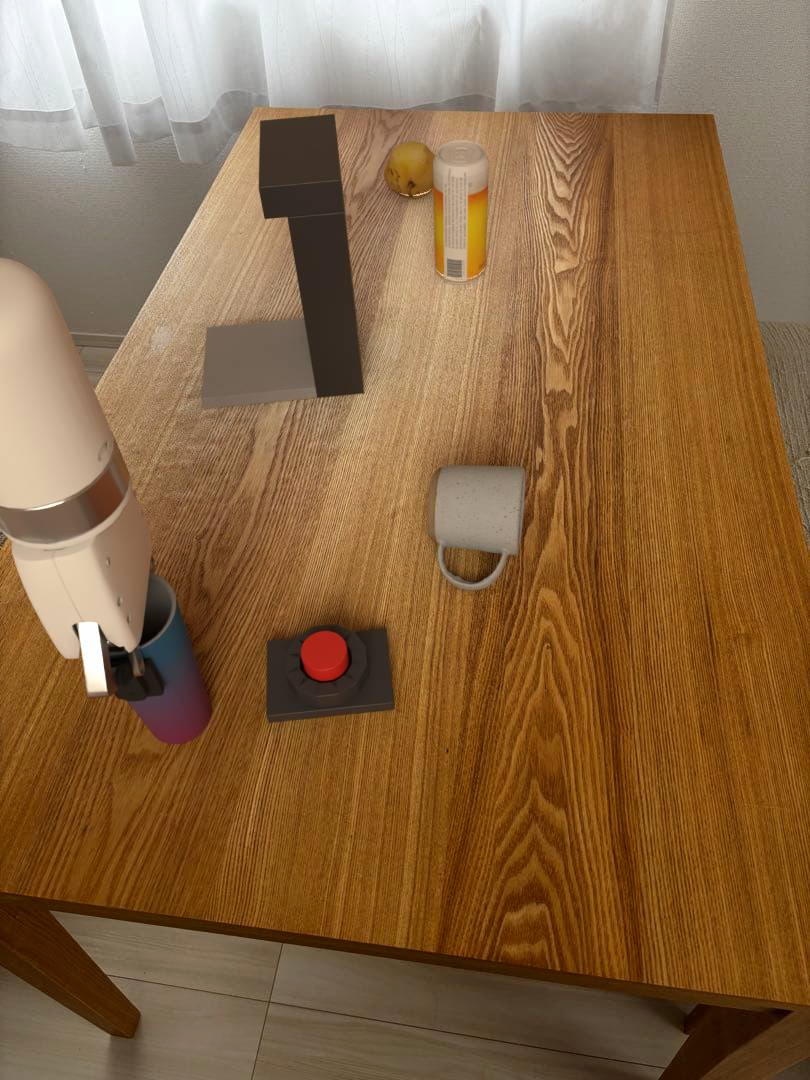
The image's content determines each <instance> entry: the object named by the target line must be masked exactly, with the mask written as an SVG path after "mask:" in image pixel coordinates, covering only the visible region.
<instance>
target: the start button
mask: <svg viewBox="0 0 810 1080" xmlns="http://www.w3.org/2000/svg"><path fill="white" fill-rule="evenodd" d="M301 658H302V661H303V665H304V669H305V671H306V673H307V674H308V675H309V676H310V677H312V678H313V679H315V680H318V681H331V680H334V679H336V678H338V677H339V676H341V675H342V674H343V673H344V672H345V670H346V669H347V666H348V663H349V657H348V651H347V646H346V643H345V641H344V639H343V638H342V637H341V636H340V635H338V634H337V633H334V632H331V631H320V632H317V633H314V634H312V635H311V636H309V637H308V638H307V639H306V640H305V641H304V643H303V645H302V648H301Z"/></svg>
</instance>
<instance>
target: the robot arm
mask: <svg viewBox="0 0 810 1080" xmlns="http://www.w3.org/2000/svg"><path fill="white" fill-rule="evenodd" d="M115 437H116V436H115V435H114V433H113V431H112V429H111V426H110V424H109V422H108V419H107V417H106V414H105V412H104V410H103V408H102V405H101V403H100V400H99V398H98V395H97V394H96V392H95V389H94V386H93V384H92V381H91V379H90V377H89V374H88V372H87V370H86V367H85V365H84V362H83V360H82V358H81V356H80V353H79V351H78V349H77V346H76V344H75V341H74V339H73V336H72V335H71V332H70V330H69V328H68V325H67V323H66V321H65V318H64V316H63V313H62V311H61V309H60V307H59V305H58V302H57V301H56V298H55V296H54V294H53V292H52V291H51V289H50V287H49V286H48V284H47V283H46V282H45V280H43V278H42V277H41V276H40V275H39V274H37V273H36V271H34V270H33V269H31V268H30V267H28V266H26V265H25V264H23V263H21V262H19V261H16V260H14V259H10V258H5V257H0V531H1V532H2V533H3V535H4V536H5V537H6V538H7V539H9V540H10V542H11V555H12V558H13V561H14V564H15V568H16V570H17V571H16V572H17V573H18V575H19V578H20V580H21V583H22V586H23V588H24V591H25V593H26V595H27V597H28V600H29V602H30V603H31V605H32V607H33V609H34V611H35V613H36V615H37V617H38V619H39V621H40V623H41V624H42V626H43V628H44V630H45V632H46V633H47V635H48V637H49V638H50V640H51V641H52V644H53V645H54V646H55V648H56V649H57V651H58V652H59V653H60V655H61V656H62V657H63V658H65V659H66V660H74V659H75V660H77V659H80V656H81V660H82V666H83V668H82V669H83V674H84V681H85V687H86V694H87V697H88V699H90V700H91V699H92V700H93V699H99V698H109V697H112V696H113V695H114V696H115V697H116V698H117V699H118V700H124V701H126V702H127V701H131V702H134V701H142V700H145V699H146V698H147V697H152V696H161V695H163V694H164V685H163V683H162V681H161V679H160V677H159V675H158V673H157V672H156V670H155V668H154V666H153V664H152V662H151V660H150V659H143V656H142V653H141V649H140V645H139V642H140V639H141V635H142V629H143V622H144V614H145V606H146V598H147V589H148V580H149V572H152V573H155V574H156V561H155V558H154V556H153V555H152V534H151V529H150V525H149V522H148V519H147V518H146V514H145V512H144V510H143V507H142V505H141V503H140V501H139V498H138V497H137V495H136V492H135V490H134V489H133V480H132V476H131V473H130V471H129V468H128V466H127V464H126V461H125V459H124V457H123V454H122V452H121V450H120V447H119V445H118V442H117V440H116V438H115ZM157 575H159V576H160V574H158V573H157ZM118 647H124V650H126V653H127V657H125V658H115V659H110V657H109V650H108V649H109V648H118Z"/></svg>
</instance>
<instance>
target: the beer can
mask: <svg viewBox="0 0 810 1080" xmlns="http://www.w3.org/2000/svg"><path fill="white" fill-rule="evenodd" d="M435 153H436V154H435V158H434V160H433V189H432V190H433V232H434V233H433V234H434V236H433V237H434V270H435V272H436V273H437V275H439V276H440V278H441V279H442V280H443V281H444V282H446V283H448V284H451V285H457V286H459V285H460V286H461V285H463V286H464V285H469V284H471V283H474V282H476V281H477V280H478V279H480V277H481V275H483V274H484V272H485V270H486V267H487V266H486V267H485V264H487V260H486V259H487V234H488V205H489V204H488V203H489V199H488V198H489V171H490V159H489V157H488V155H487V153H486V149H485V147H484V146H483V145H482V144H480V143H479V142H477V141H475V140H474V141H473V140H468V139H456V140H450V141H447V142H445V143H443V144H441V145H440V146H439V147H438V148H437V150H436V152H435ZM435 267H436V269H437V270H438V271H439V272H440V273H441V274H444V275H445V276H448V277H451V278H457V279H463V278H470V277H473V276H475V275H478V274H479V273H480V272H481V271H482V270H483V269H484V267H485V270H484V271H483V272H482V273H481V274H480V275H479V276H477V277H475V278H472V279H468V280H451V279H448V278H445V277H443V276H441V275H440V274H439V273H438V272H437V271H436V269H435Z"/></svg>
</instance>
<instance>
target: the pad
mask: <svg viewBox="0 0 810 1080" xmlns="http://www.w3.org/2000/svg"><path fill="white" fill-rule="evenodd" d="M320 631H331V632H334V633H337V634H338V635H340V636H341V637H342V638H343V639H344V641H345V643H346V646H347V651H348V657H349V663H348V666H347V669H346V670H345V672H344V673H343V674H342V675H341V676H339V677H338V678H336V679H334V680H331V681H318V680H315V679H313V678H312V677H310V676H309V675H308V674H307V673H306V671H305V669H304V665H303V661H302V658H301V648H302V645H303V643H304V641H305V640H306V639H307V638H308V637H309V636H311V635H312V634H314V633H317V632H320ZM388 639H389V637H388V630H387V628H377V629H367V630H358V631H354V630H353V629H350V628H347V627H344V626H341V625H338V624H336V623H331V624H322V625H314V626H311V627H310V628H308V629H306V630H305V631H303V632H301V633H300V634H298V635H297V636H295V637H290V638H280V639H271V640H267V641H266V701H265V702H266V713H265V716H266V719H267V722H268V723H269V724H273V723H281V722H290V721H292V722H293V721H301V720H310V719H319V718H320V719H321V718H328V717H338V716H339V717H340V716H348V715H356V714H365V713H366V714H367V713H375V712H385V711H386V712H387V711H393V710H395V701H394V700H395V699H394V690H393V689H394V688H393V678H392V669H391V658H390V647H389V640H388Z"/></svg>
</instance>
